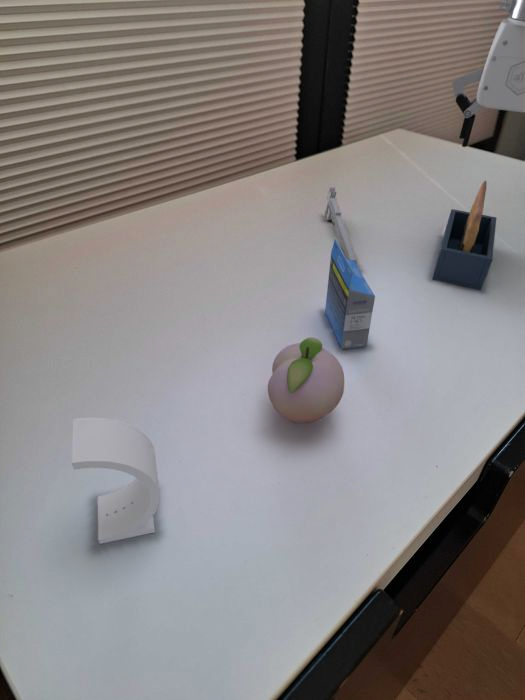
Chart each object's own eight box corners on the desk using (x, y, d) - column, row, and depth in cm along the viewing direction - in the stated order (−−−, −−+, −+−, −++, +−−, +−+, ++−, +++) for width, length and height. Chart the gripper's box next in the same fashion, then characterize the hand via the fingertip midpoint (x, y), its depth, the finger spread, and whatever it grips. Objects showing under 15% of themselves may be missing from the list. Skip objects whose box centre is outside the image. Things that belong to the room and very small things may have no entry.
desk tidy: (486, 246, 91) (496, 217, 88) (480, 290, 80) (492, 259, 77) (443, 237, 93) (451, 208, 90) (432, 279, 82) (441, 248, 79)
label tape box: (367, 347, 69) (384, 269, 61) (338, 350, 68) (351, 271, 60) (348, 309, 75) (361, 234, 67) (322, 311, 75) (331, 236, 67)
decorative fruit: (335, 450, 55) (348, 384, 49) (261, 438, 56) (264, 372, 50) (340, 390, 62) (352, 325, 56) (274, 380, 63) (278, 316, 57)
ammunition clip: (464, 275, 82) (488, 205, 75) (453, 272, 83) (475, 203, 75) (470, 245, 90) (491, 179, 82) (459, 243, 90) (480, 177, 83)
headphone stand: (98, 501, 50) (72, 418, 42) (161, 489, 51) (147, 406, 43) (99, 544, 46) (71, 463, 38) (166, 530, 47) (152, 449, 40)
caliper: (323, 215, 99) (327, 184, 95) (329, 215, 99) (333, 184, 95) (351, 271, 83) (357, 237, 79) (357, 271, 83) (364, 236, 79)
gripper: (468, 9, 63) (435, 148, 74) (624, 20, 58) (563, 167, 70) (473, 1, 68) (441, 132, 80) (616, 11, 64) (561, 149, 75)
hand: (498, 148), depth 75 cm, fingers open, 9 cm apart
